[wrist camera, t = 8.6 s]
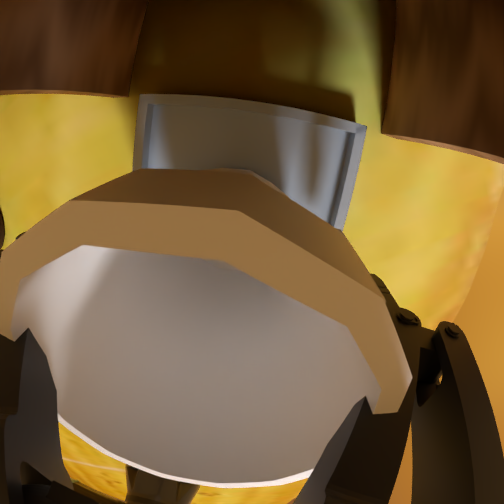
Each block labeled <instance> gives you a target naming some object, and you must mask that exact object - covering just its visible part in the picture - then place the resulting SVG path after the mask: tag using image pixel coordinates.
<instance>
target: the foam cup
mask: <svg viewBox="0 0 504 504" xmlns="http://www.w3.org/2000/svg"><path fill="white" fill-rule="evenodd" d="M28 327H29V329H30V331H31V332H32V334H33V336H34V337H35V339H36V341H37V342H38V344H39V345H40V347H41V348H42V350H43V352H44V353H45V355H46V356H47V360H48V364H49V367H50V371H51V374H52V378H53V381H54V384H55V387H56V390H57V412H58V422H60V423H61V424H62V425H64V426H65V427H66V428H67V429H69V430H70V431H72V432H73V433H74V434H76V435H77V436H78V437H80V438H81V439H83V440H84V441H86V442H87V443H88V444H90V445H91V446H93V447H94V448H96V449H98V450H99V451H101V452H102V453H104V454H106V455H108V456H110V457H112V458H114V459H116V460H119V461H121V462H123V463H126V464H128V465H130V466H133V467H135V468H138V469H140V470H143V471H145V472H148V473H151V474H153V475H156V476H159V477H162V478H167V479H171V480H176V481H181V482H186V483H192V484H198V485H204V486H211V487H219V488H244V487H262V486H274V485H283V484H287V483H291V482H295V481H298V480H302V479H305V478H308V477H310V475H311V473H312V471H313V470H314V468H315V466H316V464H317V462H318V461H319V459H320V457H321V455H322V453H323V451H324V449H325V448H326V446H327V444H328V442H329V441H330V440H331V438H332V437H333V435H334V434H335V433H336V431H337V430H338V428H339V427H340V425H341V424H342V423H343V421H344V420H345V418H346V417H347V415H348V414H349V412H350V411H351V409H352V407H353V406H354V404H356V403H357V402H358V401H359V400H361V399H362V398H363V397H364V396H366V398H367V400H368V403H369V405H370V408H371V411H372V413H373V414H383V413H394V412H398V410H399V408H400V406H401V403H402V401H403V399H404V397H405V394H406V392H407V390H408V387H409V385H410V382H411V380H412V375H411V371H410V368H409V365H408V362H407V359H406V357H405V354H404V351H403V348H402V345H401V343H400V340H399V337H398V334H397V332H396V329H395V327H394V324H393V321H392V319H391V316H390V314H389V311H388V309H387V306H386V304H385V302H384V299H383V297H382V296H381V294H380V292H379V291H378V289H377V287H376V286H375V284H374V282H373V281H372V279H371V277H370V276H369V274H368V273H367V271H366V269H365V268H364V266H363V265H362V263H361V261H360V260H359V258H358V257H357V255H356V254H355V252H354V251H353V249H352V248H351V246H350V245H349V243H348V241H347V240H346V238H345V237H344V236H343V234H342V233H341V232H340V231H339V230H337V229H336V228H334V227H333V226H331V225H330V224H328V223H327V222H325V221H324V220H322V219H321V218H319V217H318V216H316V215H315V214H313V213H312V212H310V211H309V210H307V209H306V208H304V207H302V206H301V205H299V204H298V203H296V202H294V201H293V200H291V199H290V198H289V197H288V196H287V195H285V194H284V193H283V192H282V191H281V190H280V189H279V188H277V187H276V186H275V185H274V184H273V183H271V182H269V181H268V180H266V179H264V178H263V177H261V176H259V175H258V174H256V173H254V172H253V171H251V170H244V169H232V168H216V169H206V170H183V169H154V168H141V169H138V170H136V171H133V172H131V173H128V174H126V175H123V176H121V177H119V178H116V179H114V180H112V181H109V182H107V183H105V184H103V185H100V186H98V187H96V188H94V189H92V190H90V191H88V192H85V193H83V194H81V195H79V196H77V197H75V198H73V199H71V200H69V201H68V202H66V203H65V204H63V205H62V206H60V207H59V208H58V209H56V210H55V211H53V212H52V213H50V214H49V215H48V216H46V217H45V218H44V219H42V220H41V221H40V222H38V223H37V224H36V225H34V226H33V227H32V228H30V229H29V230H28V231H27V232H25V233H24V234H23V235H21V236H20V237H19V238H18V239H17V240H15V241H14V242H13V243H12V244H11V245H9V246H8V247H7V248H6V249H5V250H4V251H2V253H1V258H0V334H1V335H3V336H5V337H7V338H9V339H10V340H12V341H14V342H15V341H16V339H17V338H18V337H19V336H20V335H21V334H22V333H23V332H24V331H25V330H26V329H27V328H28Z"/></svg>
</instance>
